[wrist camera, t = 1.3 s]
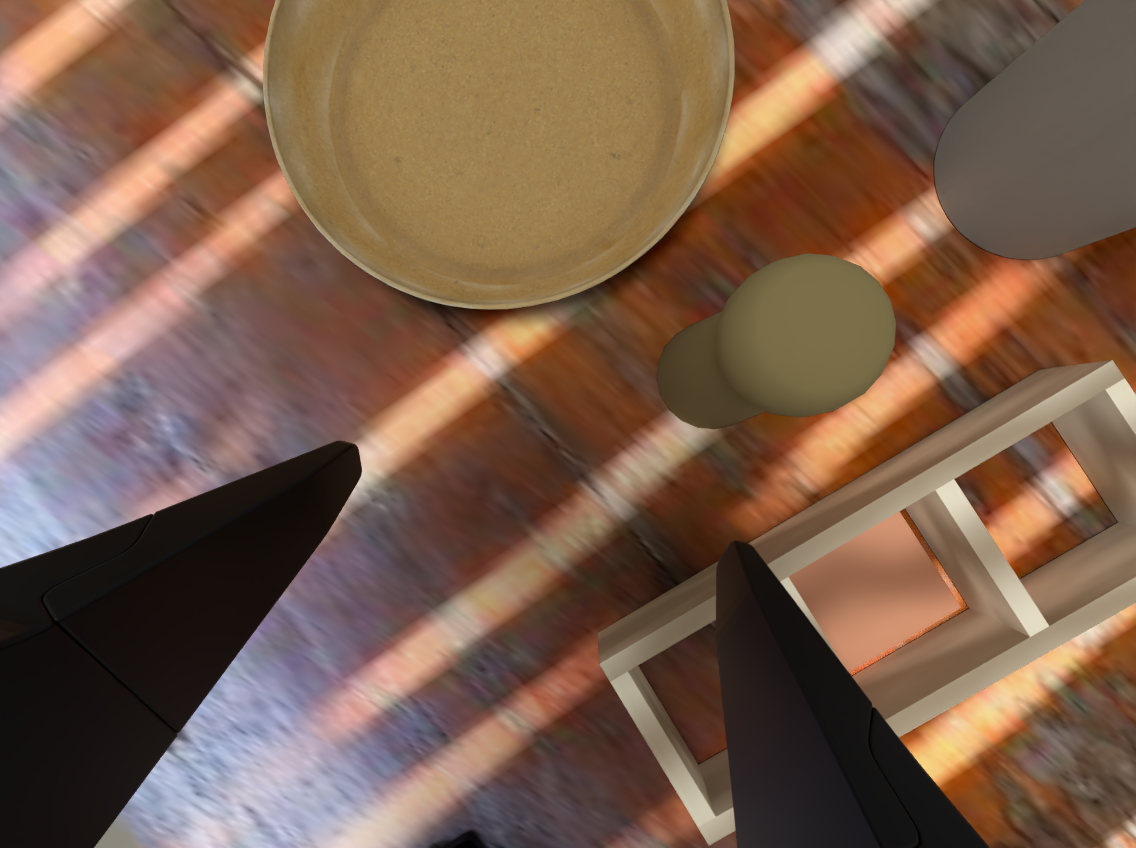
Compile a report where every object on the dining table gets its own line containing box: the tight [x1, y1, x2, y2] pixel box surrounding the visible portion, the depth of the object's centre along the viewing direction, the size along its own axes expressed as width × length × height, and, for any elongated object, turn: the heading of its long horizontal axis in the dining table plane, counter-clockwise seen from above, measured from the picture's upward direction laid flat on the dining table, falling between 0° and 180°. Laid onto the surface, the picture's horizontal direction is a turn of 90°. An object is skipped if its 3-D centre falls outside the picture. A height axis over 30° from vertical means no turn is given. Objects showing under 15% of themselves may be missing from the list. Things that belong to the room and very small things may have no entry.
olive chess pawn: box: [657, 254, 896, 429], centre depth 17 cm, size 6×6×11 cm
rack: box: [598, 360, 1136, 845], centre depth 21 cm, size 10×28×3 cm, turn 122°
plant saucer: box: [263, 0, 734, 310], centre depth 22 cm, size 24×24×3 cm
